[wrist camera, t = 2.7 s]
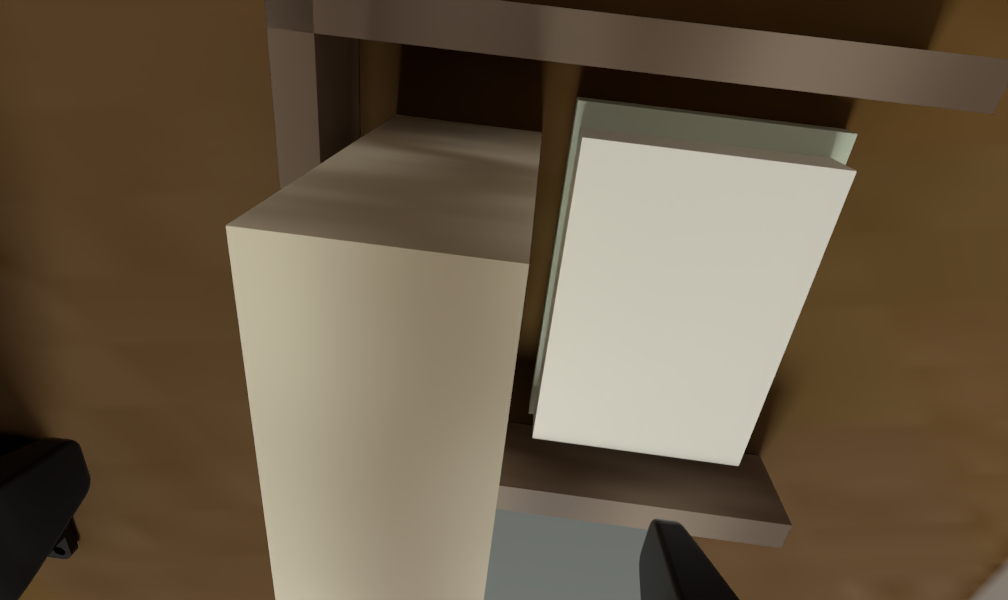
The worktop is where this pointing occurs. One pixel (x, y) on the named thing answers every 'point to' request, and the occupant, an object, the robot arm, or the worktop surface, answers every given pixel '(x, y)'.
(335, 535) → the cream rectangular block
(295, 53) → the rack
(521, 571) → the mat
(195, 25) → the worktop surface
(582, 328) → the offcut upper
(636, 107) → the offcut lower
